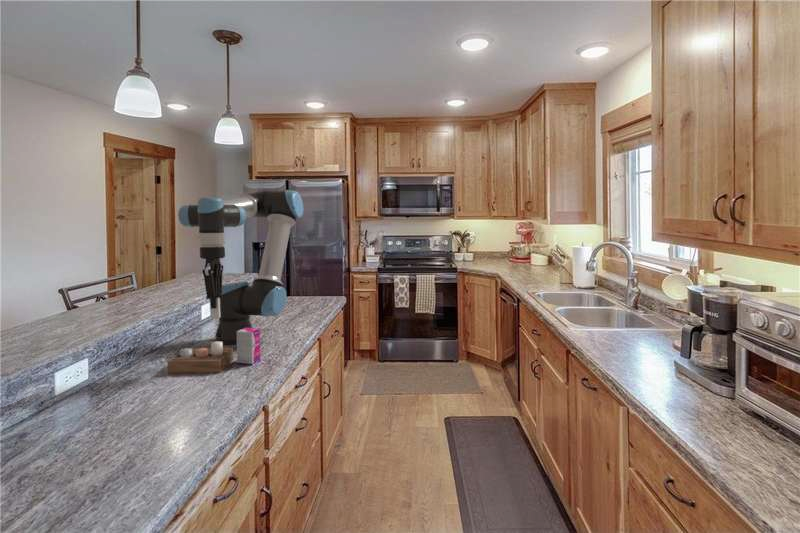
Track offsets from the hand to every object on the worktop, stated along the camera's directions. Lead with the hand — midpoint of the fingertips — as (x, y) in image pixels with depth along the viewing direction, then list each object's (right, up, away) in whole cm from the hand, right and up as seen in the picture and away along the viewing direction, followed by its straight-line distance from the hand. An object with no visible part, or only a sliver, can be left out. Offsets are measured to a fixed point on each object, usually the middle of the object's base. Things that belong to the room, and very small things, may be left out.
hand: (215, 317), depth 150 cm
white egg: (0, -12, +1) cm, 13 cm away
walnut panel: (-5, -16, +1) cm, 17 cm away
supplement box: (+9, -16, +5) cm, 19 cm away
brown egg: (-5, -15, +1) cm, 16 cm away
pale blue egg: (-10, -15, +1) cm, 18 cm away
